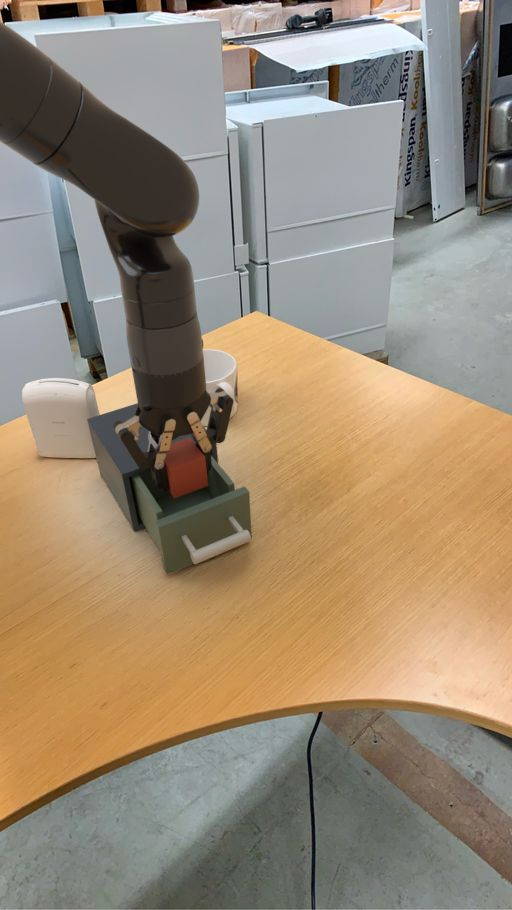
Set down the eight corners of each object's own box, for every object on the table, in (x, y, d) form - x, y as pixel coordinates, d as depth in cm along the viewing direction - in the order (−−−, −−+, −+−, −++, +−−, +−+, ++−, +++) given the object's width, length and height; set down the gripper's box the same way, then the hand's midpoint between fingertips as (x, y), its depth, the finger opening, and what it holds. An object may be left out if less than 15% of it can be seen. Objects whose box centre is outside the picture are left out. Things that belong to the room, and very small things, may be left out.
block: (174, 498, 76) (169, 469, 73) (159, 477, 79) (154, 448, 76) (208, 485, 77) (205, 456, 75) (192, 465, 80) (189, 437, 78)
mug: (163, 405, 106) (156, 362, 101) (218, 384, 111) (215, 342, 106) (204, 445, 98) (199, 400, 93) (262, 421, 102) (261, 377, 97)
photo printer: (35, 459, 96) (13, 388, 89) (45, 441, 100) (24, 371, 92) (103, 461, 95) (86, 389, 88) (111, 443, 99) (95, 373, 91)
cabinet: (221, 497, 88) (216, 441, 82) (133, 532, 84) (121, 474, 78) (180, 445, 98) (173, 391, 92) (100, 473, 93) (86, 418, 87)
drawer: (269, 560, 78) (267, 512, 73) (181, 599, 74) (173, 551, 69) (208, 482, 89) (203, 437, 85) (129, 512, 85) (119, 466, 81)
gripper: (212, 322, 73) (222, 445, 83) (88, 356, 67) (115, 483, 78) (244, 350, 67) (251, 477, 78) (112, 390, 62) (138, 520, 73)
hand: (183, 479), depth 78 cm, fingers closed on block, 4 cm apart
